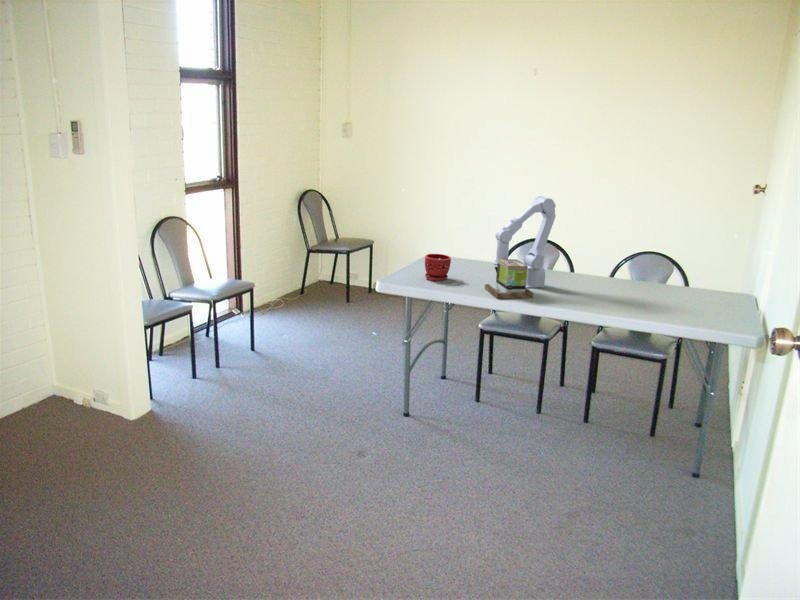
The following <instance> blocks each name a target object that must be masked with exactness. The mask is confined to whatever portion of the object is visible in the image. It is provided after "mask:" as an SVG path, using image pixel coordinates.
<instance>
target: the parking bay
mask: <svg viewBox="0 0 800 600" xmlns="http://www.w3.org/2000/svg"><path fill="white" fill-rule="evenodd" d="M484 290H485V291H486V292H488V293H489V294H490V295H491V296H493V297H494V298H495V299H496V300H499V299H500V300H506V299H507V300H508V299H509V298H512V299H533V298H534V292H533V291H532V290H530V289H529V288H527V287H526V289H525V292H507V293H501V292H500V291H499V290H498V289H496V288H494V287H493V286H492V285H491V284H490V283H486V284H484Z"/></svg>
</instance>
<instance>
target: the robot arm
mask: <svg viewBox="0 0 800 600" xmlns="http://www.w3.org/2000/svg"><path fill="white" fill-rule="evenodd" d="M556 207H557V204H556V203H555V201H554V199H553V198H547V197H545V196H541V195H539V196H537V197H536V198H535V199H533V200H532V201H531V203H530V204H529V206H528V207H526V209H525V210H524V211H523V212H522V213H521V214H520V215H519V216H518V217H517V218H516V217H515V218H511V219H510V220H509V222H508V223H507V224H506V225H505V226H503V227H502V228H501V229H498V231H497V232H496V234H495V239H496V241H497V243H496V252H495V253H496V255H495V260H494V262H493V266H494V269H495V273H496V274H497V264H498V259H509V252H510V249H509V247H510V241H512V239H513V236H514V235H515V234H516V233H517V232H518V231H519V230H520V229H521V228H523V223H525V221H527V220H528V219H529V218H530V217H532V216H533V215H534V214H535V213H540V214H541V216H542V220H541V223H540V226H539V228H538V231H537V234H536V236H535V237H536V238H535V239H534V243H533V245H532V247H531V248H530V249H529V250H528V252H527V253H526V255H525V256H524V258H523V264H525V265H527V266H528V268H527V279H526V288H527V289H530V288H531V289H532V288H535V289H536V288H545V287H546V286H545V282H546V270H545V268H543V266H544V259H545V253H544V251H545V248H546V244H547V242H548V239H549V235H550V233H551V231H552V228H553V225H554V222H555V219H556Z"/></svg>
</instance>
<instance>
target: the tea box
mask: <svg viewBox="0 0 800 600" xmlns="http://www.w3.org/2000/svg"><path fill="white" fill-rule="evenodd" d="M496 267H497V273H496V278H495V279H496V280H495V289H496V290H497V291H498V292H499V293H507V292H525V289H526V288H527V287H526V279H527V268H528V266H527V265H526V264H525V263H524V262H522V261H520V260H518V259H515V258H513V259H512V258H511V259H509V258H508V259H498V264H497V265H496Z"/></svg>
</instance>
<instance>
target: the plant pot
mask: <svg viewBox="0 0 800 600" xmlns="http://www.w3.org/2000/svg"><path fill="white" fill-rule="evenodd" d="M451 262H452V258H451V256H449V255H446V254H442V253H428V254H426V255H425V256H424V268H425V272H426V273H425V274H424V277H425V278H426V279H427V280H430V281H433V280H434V281H435V282H438V281H439V282H441V281H442V282H443V281H445V280H447V279H448V273H449V272H450V268H451ZM434 281H433V282H434Z"/></svg>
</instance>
